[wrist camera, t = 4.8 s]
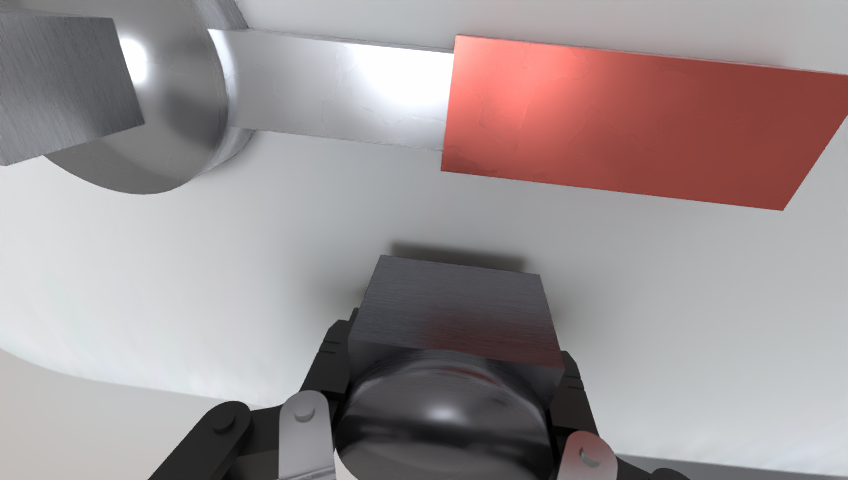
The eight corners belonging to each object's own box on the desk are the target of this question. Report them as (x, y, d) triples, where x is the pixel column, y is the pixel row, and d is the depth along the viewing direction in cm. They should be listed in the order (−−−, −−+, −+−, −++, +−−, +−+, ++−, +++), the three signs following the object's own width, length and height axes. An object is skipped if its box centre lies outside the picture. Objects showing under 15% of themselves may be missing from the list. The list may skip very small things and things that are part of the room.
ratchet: (830, -18, 9) (1333, -81, 4) (695, 227, 12) (856, 368, 7) (-7, -94, 10) (-528, -228, 5) (93, 155, 13) (-138, 236, 8)
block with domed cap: (543, 272, 12) (583, 411, 8) (509, 381, 15) (525, 525, 11) (378, 252, 13) (328, 373, 8) (377, 362, 16) (340, 494, 11)
